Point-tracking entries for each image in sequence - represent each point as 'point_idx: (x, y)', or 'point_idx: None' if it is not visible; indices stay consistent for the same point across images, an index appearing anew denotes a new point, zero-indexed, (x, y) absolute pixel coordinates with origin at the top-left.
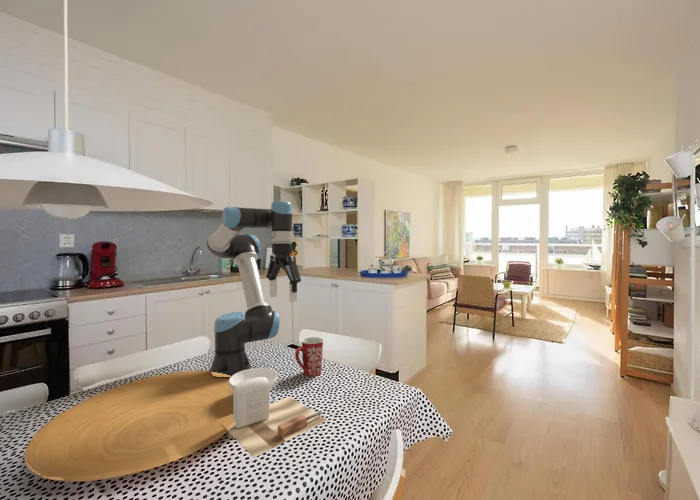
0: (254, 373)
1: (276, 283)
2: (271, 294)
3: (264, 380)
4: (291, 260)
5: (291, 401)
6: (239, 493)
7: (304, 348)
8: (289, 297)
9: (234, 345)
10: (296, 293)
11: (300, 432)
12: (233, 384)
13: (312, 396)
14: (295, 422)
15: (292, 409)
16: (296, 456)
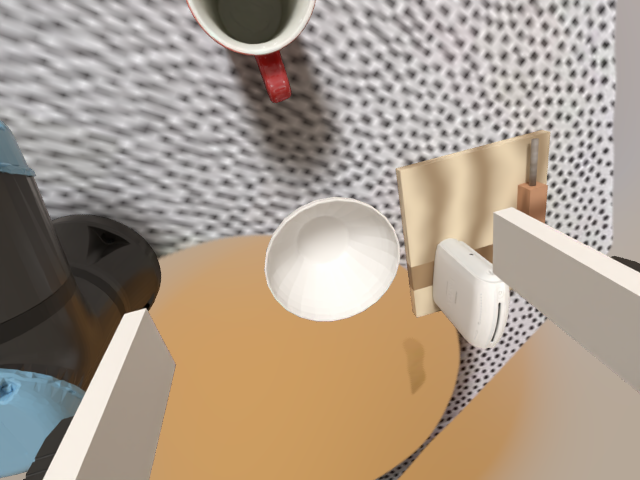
0: (271, 246)
1: (91, 450)
2: (167, 382)
3: (508, 290)
4: None
5: (426, 174)
6: None
7: (279, 53)
8: (519, 292)
9: (112, 324)
10: (568, 239)
11: None
12: (302, 299)
13: (412, 100)
14: (544, 212)
15: (461, 185)
16: (565, 218)
